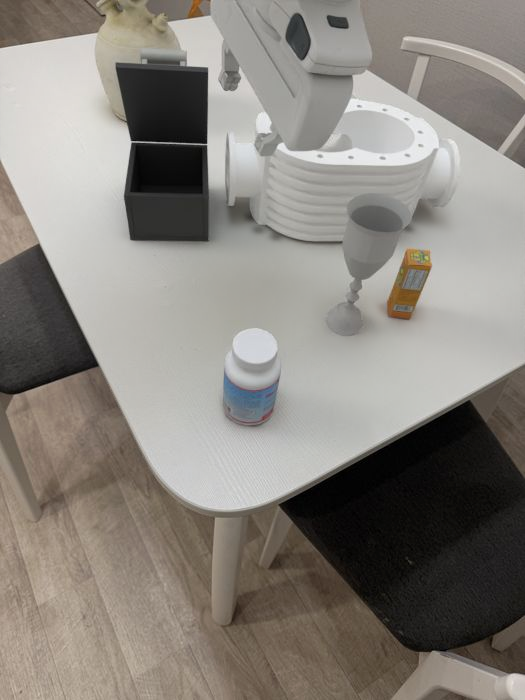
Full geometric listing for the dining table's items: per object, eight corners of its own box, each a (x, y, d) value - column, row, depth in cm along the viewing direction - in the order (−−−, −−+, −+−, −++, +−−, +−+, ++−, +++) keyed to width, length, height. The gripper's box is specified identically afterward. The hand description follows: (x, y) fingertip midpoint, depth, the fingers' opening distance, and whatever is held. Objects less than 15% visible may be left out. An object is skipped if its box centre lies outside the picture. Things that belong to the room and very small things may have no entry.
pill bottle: (274, 428, 59) (286, 371, 50) (220, 426, 58) (223, 367, 49) (274, 385, 62) (285, 324, 54) (223, 382, 62) (226, 320, 53)
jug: (88, 103, 100) (59, -56, 80) (155, 84, 107) (144, -67, 87) (132, 138, 93) (112, -25, 74) (200, 115, 100) (198, -39, 81)
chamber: (208, 241, 78) (208, 197, 72) (130, 240, 76) (123, 195, 70) (207, 188, 86) (207, 144, 80) (136, 186, 85) (131, 141, 79)
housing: (229, 244, 78) (233, 160, 67) (221, 161, 91) (223, 80, 80) (445, 244, 82) (483, 165, 71) (407, 165, 96) (434, 88, 85)
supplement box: (384, 300, 73) (406, 245, 65) (408, 303, 73) (433, 249, 65) (385, 317, 71) (408, 263, 63) (410, 320, 71) (436, 267, 63)
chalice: (333, 346, 67) (367, 238, 53) (309, 310, 71) (335, 199, 56) (380, 332, 69) (424, 224, 55) (354, 297, 73) (390, 188, 59)
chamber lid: (208, 72, 66) (207, 39, 67) (115, 67, 64) (116, 34, 66) (207, 144, 79) (207, 116, 81) (130, 141, 78) (131, 113, 79)
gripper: (220, -96, 45) (181, 48, 57) (325, 70, 40) (259, 193, 51) (277, -82, 49) (230, 51, 60) (382, 73, 43) (308, 188, 54)
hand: (244, 118), depth 55 cm, fingers open, 8 cm apart
